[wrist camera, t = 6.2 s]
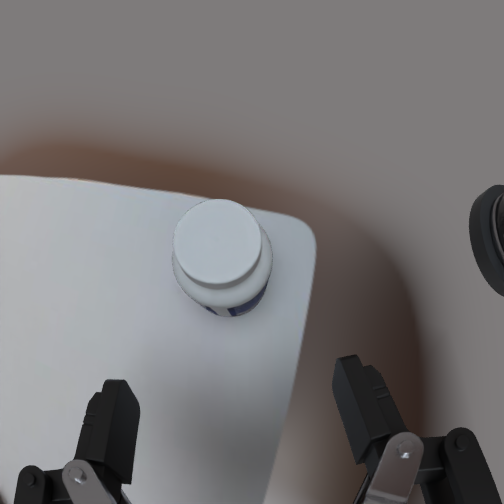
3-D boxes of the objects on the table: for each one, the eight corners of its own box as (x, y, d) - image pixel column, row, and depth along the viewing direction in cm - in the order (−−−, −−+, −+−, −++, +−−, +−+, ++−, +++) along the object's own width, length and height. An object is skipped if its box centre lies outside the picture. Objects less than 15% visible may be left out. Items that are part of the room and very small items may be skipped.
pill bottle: (266, 247, 24) (278, 185, 14) (265, 318, 22) (278, 302, 13) (196, 245, 23) (165, 184, 14) (191, 315, 22) (151, 296, 13)
